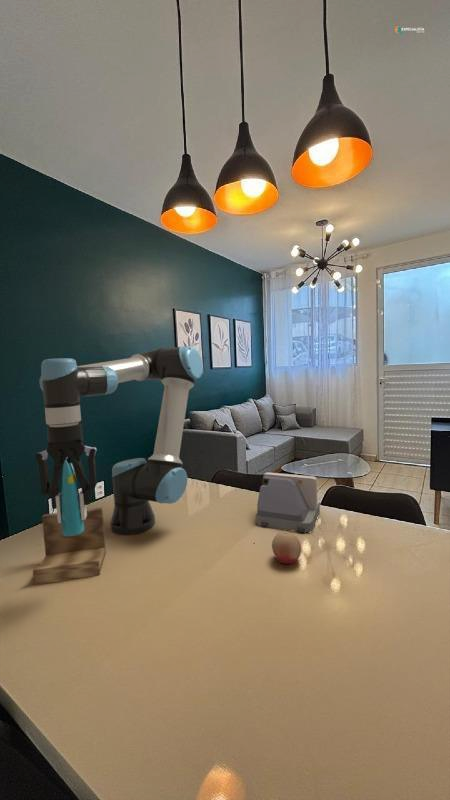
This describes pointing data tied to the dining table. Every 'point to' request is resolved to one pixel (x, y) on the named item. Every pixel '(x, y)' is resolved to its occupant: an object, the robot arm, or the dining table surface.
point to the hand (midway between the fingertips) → (72, 518)
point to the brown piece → (71, 549)
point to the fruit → (286, 547)
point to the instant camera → (288, 502)
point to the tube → (70, 502)
